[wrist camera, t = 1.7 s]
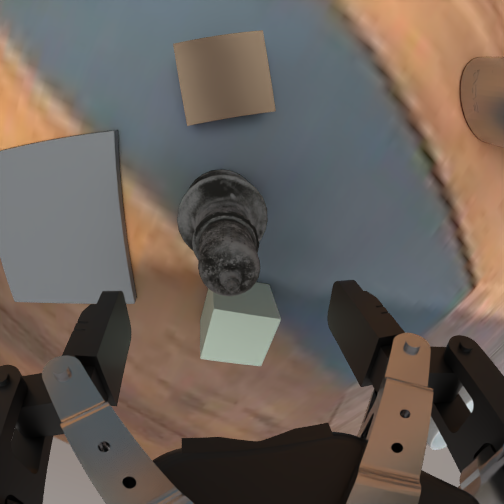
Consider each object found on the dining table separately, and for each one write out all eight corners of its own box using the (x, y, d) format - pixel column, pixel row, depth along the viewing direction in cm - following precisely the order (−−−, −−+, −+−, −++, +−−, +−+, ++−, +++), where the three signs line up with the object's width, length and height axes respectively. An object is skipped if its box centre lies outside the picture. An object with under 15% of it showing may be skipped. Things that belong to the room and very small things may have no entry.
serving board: (117, 130, 20) (114, 131, 19) (136, 296, 26) (134, 303, 25) (-13, 154, 18) (-20, 156, 17) (19, 296, 24) (14, 301, 23)
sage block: (269, 284, 27) (281, 319, 23) (252, 328, 29) (260, 366, 25) (212, 273, 26) (213, 308, 21) (200, 320, 28) (200, 358, 23)
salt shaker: (219, 254, 25) (231, 362, 14) (165, 204, 23) (131, 290, 12) (274, 204, 24) (329, 286, 13) (221, 149, 22) (235, 188, 11)
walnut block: (251, 47, 19) (262, 30, 14) (261, 111, 21) (275, 111, 16) (180, 58, 18) (173, 43, 14) (192, 123, 21) (187, 125, 16)
